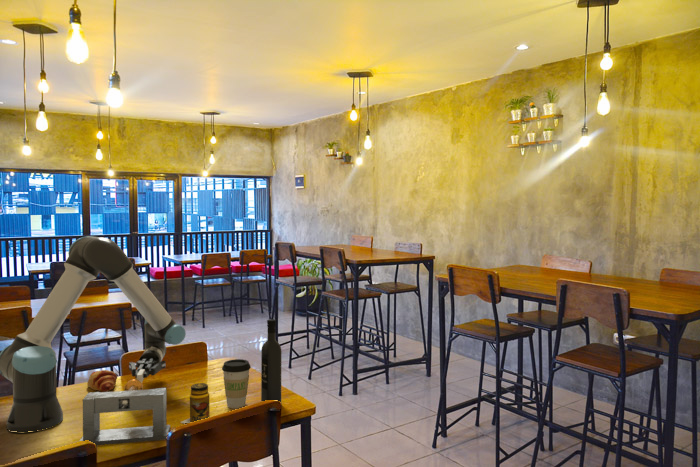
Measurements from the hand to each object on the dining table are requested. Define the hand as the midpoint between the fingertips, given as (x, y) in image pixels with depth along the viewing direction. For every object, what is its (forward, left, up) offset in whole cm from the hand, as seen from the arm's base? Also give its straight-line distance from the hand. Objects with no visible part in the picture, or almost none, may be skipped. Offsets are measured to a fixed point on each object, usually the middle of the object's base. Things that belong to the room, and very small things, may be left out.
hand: (139, 379), depth 171 cm
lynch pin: (0, -15, -3) cm, 16 cm away
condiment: (+20, -12, -11) cm, 26 cm away
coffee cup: (+32, 0, -11) cm, 34 cm away
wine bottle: (+44, -2, -11) cm, 45 cm away
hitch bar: (0, -20, -11) cm, 23 cm away
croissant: (-19, +30, -11) cm, 37 cm away
